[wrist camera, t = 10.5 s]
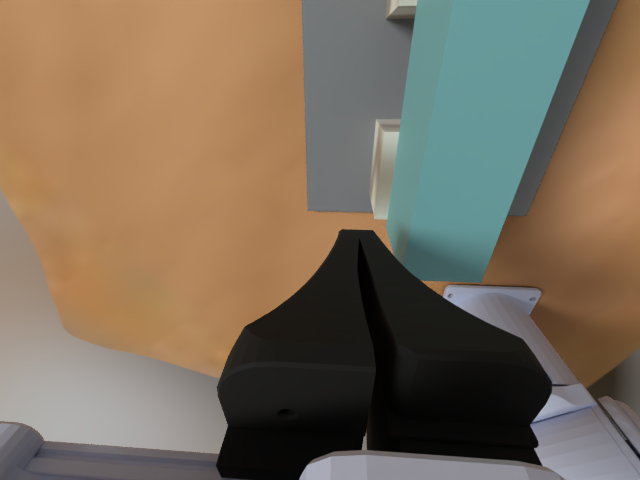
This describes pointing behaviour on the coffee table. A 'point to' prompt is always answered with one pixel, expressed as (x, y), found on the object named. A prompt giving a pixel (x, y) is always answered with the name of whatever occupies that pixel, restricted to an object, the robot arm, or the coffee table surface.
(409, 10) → the pillar
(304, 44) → the grey flat plate
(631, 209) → the coffee table surface
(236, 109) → the coffee table surface
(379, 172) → the pillar
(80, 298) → the coffee table surface
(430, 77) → the teal beam
